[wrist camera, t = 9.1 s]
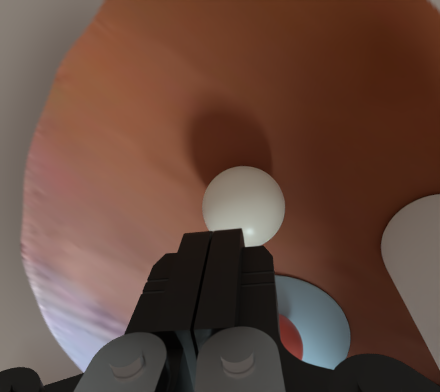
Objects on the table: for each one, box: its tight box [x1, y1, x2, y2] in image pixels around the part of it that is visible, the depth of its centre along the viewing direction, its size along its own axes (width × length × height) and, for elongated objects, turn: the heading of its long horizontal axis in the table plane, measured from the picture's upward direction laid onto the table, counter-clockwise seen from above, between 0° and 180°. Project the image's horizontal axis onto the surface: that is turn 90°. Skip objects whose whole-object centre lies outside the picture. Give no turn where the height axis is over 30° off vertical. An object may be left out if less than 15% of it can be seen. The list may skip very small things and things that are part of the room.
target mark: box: [275, 275, 350, 370], centre depth 34 cm, size 14×14×1 cm
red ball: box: [279, 314, 303, 360], centre depth 30 cm, size 6×6×6 cm
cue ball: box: [202, 166, 285, 247], centre depth 25 cm, size 6×6×6 cm
